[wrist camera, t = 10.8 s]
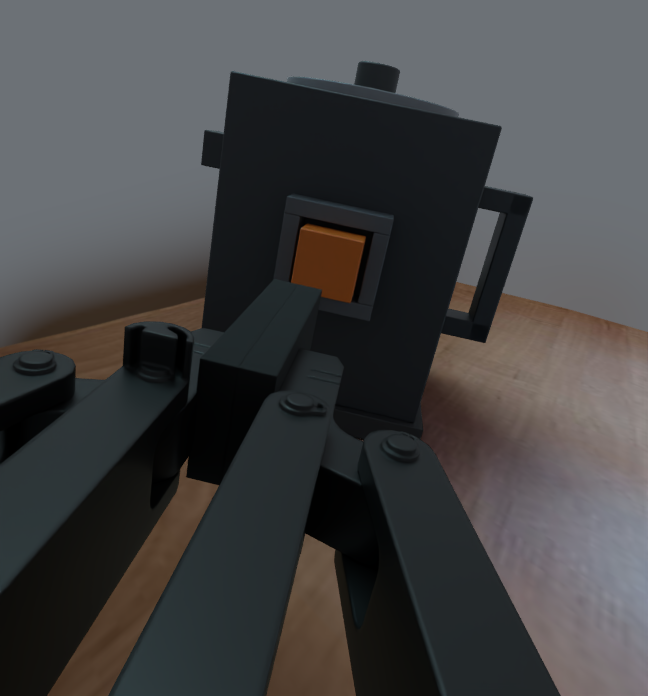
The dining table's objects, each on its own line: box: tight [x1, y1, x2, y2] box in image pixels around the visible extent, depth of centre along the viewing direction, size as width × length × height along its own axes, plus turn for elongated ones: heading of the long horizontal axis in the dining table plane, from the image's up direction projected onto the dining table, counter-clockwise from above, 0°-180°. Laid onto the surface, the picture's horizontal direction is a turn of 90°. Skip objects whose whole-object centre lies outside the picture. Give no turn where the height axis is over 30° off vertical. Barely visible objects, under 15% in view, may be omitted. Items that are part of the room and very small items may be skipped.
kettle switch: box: [291, 223, 366, 303], centre depth 25 cm, size 3×2×3 cm, turn 83°
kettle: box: [201, 61, 533, 439], centre depth 33 cm, size 20×15×20 cm
